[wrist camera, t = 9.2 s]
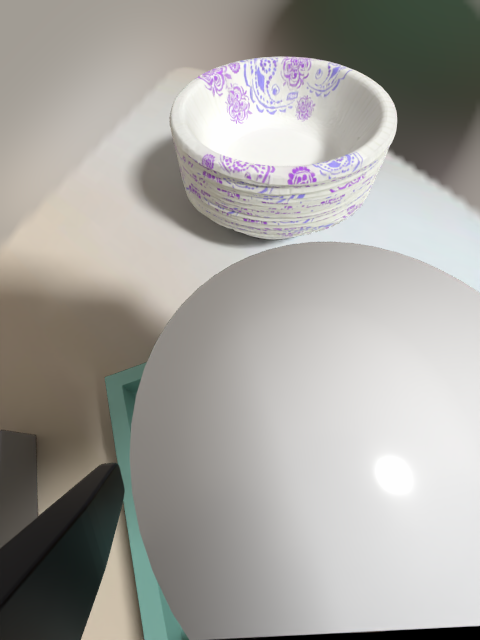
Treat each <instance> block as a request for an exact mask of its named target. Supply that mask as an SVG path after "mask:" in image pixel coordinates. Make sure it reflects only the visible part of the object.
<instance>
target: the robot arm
mask: <svg viewBox="0 0 480 640" xmlns="http://www.w3.org/2000/svg"><path fill="white" fill-rule="evenodd" d="M124 494H125V488H124V483H123V479H122V474H121V470H120V467H119V465H118V464H117V463H107V464H101V465H99V466H98V467H97V468H96V469H94V470H93V471H92V472H91V473H90V474H88V475H87V476H86V477H85V478H84V479H82V480H81V481H80V482H79V483H78V484H76V485H75V486H74V487H73V488H72V489H70V490H69V491H68V492H67V493H66V494H64V495H63V496H62V497H61V498H60V499H58V500H57V501H56V502H55V503H54V504H52V505H51V506H50V507H49V508H48V509H46V510H45V511H44V512H43V513H42V514H40V515H39V516H38V517H37V518H36V519H34V520H33V521H32V522H31V523H30V524H28V525H27V526H26V527H25V528H24V529H22V530H21V531H20V532H19V533H18V534H16V535H15V536H14V537H13V538H12V539H10V540H9V541H8V542H7V543H6V544H4V545H3V546H2V547H1V548H0V640H81V637H82V634H83V632H84V629H85V626H86V623H87V620H88V617H89V615H90V612H91V609H92V606H93V603H94V600H95V598H96V595H97V592H98V589H99V586H100V583H101V580H102V577H103V574H104V571H105V568H106V565H107V561H108V557H109V554H110V550H111V546H112V542H113V538H114V534H115V530H116V527H117V523H118V519H119V515H120V511H121V507H122V503H123V499H124Z"/></svg>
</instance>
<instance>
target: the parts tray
mask: <svg viewBox="0 0 480 640" xmlns="http://www.w3.org/2000/svg"><path fill="white" fill-rule="evenodd" d="M146 363H147V362H146ZM146 363H143V364H140V365H138V366H135V367H132V368H129V369H127V370H124V371H121V372H118V373H115V374H113V375H110V376H107V377H105V383H106V390H107V397H108V403H109V410H110V416H111V423H112V429H113V436H114V443H115V449H116V456H117V462H118V465H119V467H120V470H121V474H122V479H123V483H124V488H125V494H124V499H123V502H124V508H125V515H126V521H127V528H128V535H129V541H130V548H131V554H132V561H133V567H134V574H135V581H136V587H137V594H138V600H139V607H140V613H141V620H142V627H143V633H144V640H189V638H188V637H187V635H186V634H185V632H184V631H183V629H182V627H181V626H180V624H179V623H178V621H177V620H176V618H175V616H174V615H173V613H172V612H171V609H170V607H169V605H168V603H167V601H166V599H165V597H164V594H163V592H162V590H161V588H160V586H159V584H158V582H157V579H156V577H155V575H154V573H153V571H152V568H151V565H150V562H149V559H148V556H147V552H146V549H145V546H144V543H143V540H142V537H141V534H140V531H139V526H138V521H137V515H136V510H135V505H134V500H133V495H132V484H131V470H130V439H131V423H132V417H133V411H134V405H135V400H136V394H137V391H138V388H139V384H140V381H141V378H142V374H143V371H144V368H145V365H146Z"/></svg>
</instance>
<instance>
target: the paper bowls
mask: <svg viewBox="0 0 480 640" xmlns="http://www.w3.org/2000/svg"><path fill="white" fill-rule="evenodd" d="M396 126H397V113H396V109H395V106H394V103H393V102H392V100H391V98H390V96H389V95H388V94H387V92H386V91H385V90H384V89H383V88H382V87H381V86H380V85H378V84H377V83H376V82H375V81H373V80H372V79H370V78H368V77H367V76H365V75H363V74H362V73H359V72H357V71H355V70H353V69H350V68H348V67H345V66H342V65H339V64H336V63H332V62H327V61H323V60H317V59H311V58H301V57H264V58H254V59H248V60H242V61H237V62H234V63H230V64H227V65H223V66H220V67H217V68H215V69H212V70H210V71H207V72H206V73H204V74H202V75H200V76H199V77H197V78H195V79H194V80H193V81H191V82H190V83H189V84H188V85H187V86H186V87H185V88H184V89H183V90H182V91H181V92H180V93H179V95H178V96H177V97H176V99H175V101H174V103H173V106H172V109H171V113H170V127H171V132H172V136H173V143H174V146H175V150H176V154H177V158H178V162H179V167H180V172H181V177H182V181H183V184H184V188H185V190H186V194H187V197H188V199H189V201H190V202H191V203H192V204H193V205H194V207H195V208H196V209H197V210H198V211H199V212H200V213H202V214H203V215H205V216H207V217H208V218H209V219H211V220H212V221H214V222H216V223H217V224H219V225H221V226H225V227H226V228H229V229H230V228H231V229H234V231H238V232H241V233H244V234H246V235H249V236H252V237H257V238H262V239H286V238H292V237H296V236H301V235H304V234H311V233H312V232H318V231H321V230H324V229H327V228H330V227H333V226H334V225H336V224H339V223H340V222H341V221H343V220H346V219H347V218H348V217H350V216H352V215H353V214H354V213H355V212H356V211H357V210H358V209H359V208H360V206H361V205H362V204H363V202H364V201H365V199H366V197H367V196H368V194H369V192H370V190H371V187H372V185H373V183H374V181H375V179H376V176H377V173H378V172H379V170H380V168H381V166H382V163H383V161H384V158H385V156H386V154H387V151H388V148H389V146H390V144H391V143H392V140H393V138H394V136H395V132H396Z"/></svg>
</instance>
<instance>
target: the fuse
mask: <svg viewBox="0 0 480 640" xmlns="http://www.w3.org/2000/svg"><path fill="white" fill-rule="evenodd" d="M130 470H131V484H132V495H133V500H134V505H135V510H136V515H137V521H138V526H139V531H140V534H141V537H142V540H143V543H144V546H145V549H146V552H147V556H148V559H149V562H150V565H151V568H152V571H153V573H154V575H155V577H156V579H157V582H158V584H159V586H160V588H161V590H162V592H163V594H164V597H165V599H166V601H167V603H168V605H169V607H170V609H171V612H172V613H173V615H174V616H175V618H176V620H177V621H178V623H179V624H180V626H181V627H182V629H183V631H184V632H185V634H186V635H187V637H188V638H189V640H480V293H479V292H478V291H476V290H475V289H473V288H472V287H470V286H469V285H467V284H465V283H464V282H462V281H460V280H459V279H457V278H455V277H453V276H451V275H449V274H448V273H446V272H444V271H442V270H440V269H438V268H435V267H433V266H431V265H429V264H426V263H424V262H422V261H420V260H417V259H414V258H411V257H408V256H406V255H403V254H400V253H397V252H393V251H389V250H385V249H381V248H377V247H373V246H367V245H361V244H354V243H342V242H308V243H300V244H292V245H286V246H282V247H278V248H273V249H269V250H266V251H263V252H261V253H258V254H255V255H252V256H249V257H247V258H245V259H243V260H241V261H239V262H237V263H234V264H232V265H231V266H229V267H227V268H226V269H224V270H223V271H221V272H219V273H218V274H216V275H214V276H213V277H212V278H211V279H209V280H208V281H207V282H206V283H204V284H203V285H202V286H200V287H199V288H198V289H197V290H196V291H195V292H194V293H193V294H192V295H191V296H190V297H189V298H188V299H187V300H186V301H185V302H184V303H183V304H182V305H181V306H180V308H179V309H178V310H177V311H176V313H175V314H174V315H173V317H172V318H171V319H170V320H169V322H168V323H167V325H166V326H165V328H164V330H163V331H162V333H161V335H160V336H159V338H158V340H157V341H156V343H155V345H154V347H153V350H152V352H151V354H150V356H149V359H148V361H147V363H146V365H145V368H144V371H143V374H142V378H141V381H140V384H139V388H138V391H137V394H136V400H135V405H134V411H133V417H132V423H131V439H130Z"/></svg>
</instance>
